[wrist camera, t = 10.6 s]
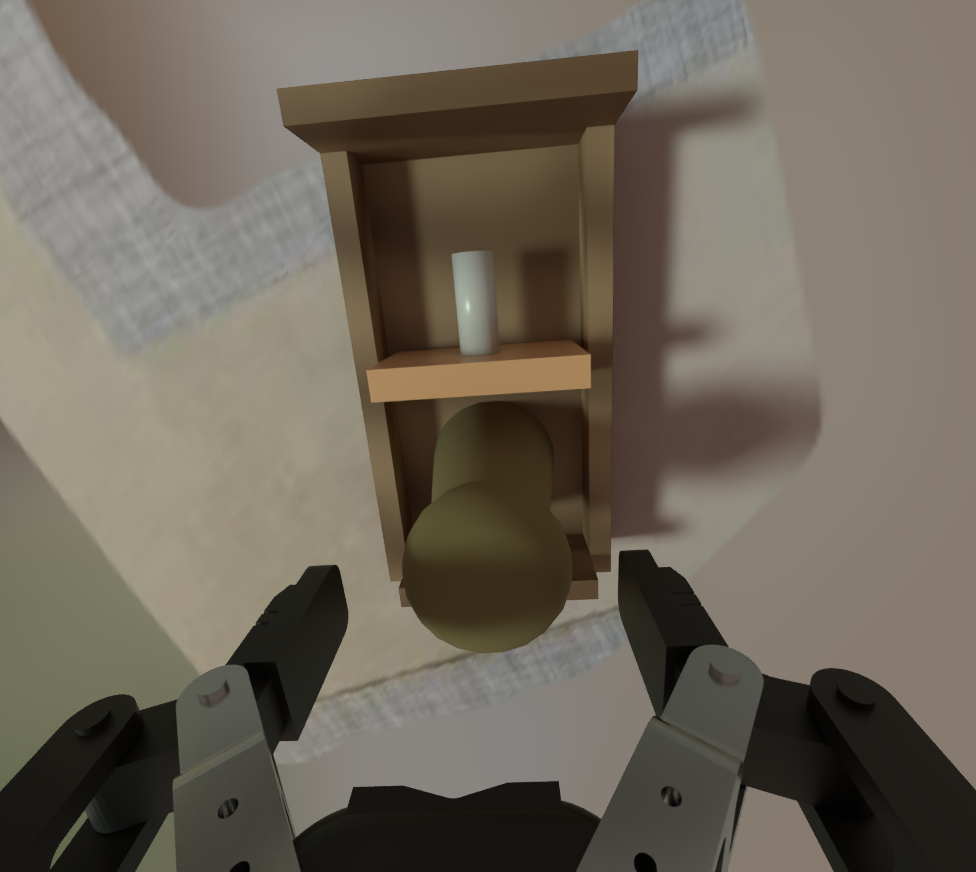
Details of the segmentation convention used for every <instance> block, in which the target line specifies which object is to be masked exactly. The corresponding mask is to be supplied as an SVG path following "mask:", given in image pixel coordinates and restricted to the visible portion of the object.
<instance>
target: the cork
mask: <svg viewBox="0 0 976 872" xmlns="http://www.w3.org/2000/svg"><path fill="white" fill-rule="evenodd" d="M553 466H554V461H553V445H552V443H551V440H550V438H549V435H548V433H547V430H546V429H545V427H544V426H543V425H542V424H541V423H540V422H539V420H538V419H537V418H536V417H535V416H534V415H533V414H531V413H530V412H528V411H526V410H525V409H523V408H521V407H520V406H518V405H515V404H510V403H506V402H502V401H488V402H478V403H476V404H473V405H471V406H468V407H466V408H464V409H461V410H460V411H459V412H458V413H456V414H455V415H454V416H453V417H452V418H451V419H449V420H448V421H447V422H446V424H445V426H444V427H443V429H442V431H441V432H440V434H439V436H438V438H437V443H436V447H435V452H434V465H433V483H432V502H431V504H430V505H429V506H427V507H426V508H425V509H424V510H423V511H422V513H421V514H420V516H419V517H418V519H417V521H416V522H415V524H414V525H413V527H412V529H411V530H410V533H409V535H408V537H407V540H406V544H405V549H404V554H403V559H402V576H403V582H404V588H405V594H406V597H407V599H408V601H409V603H410V604H411V606H412V608H413V610H414V612H415V613H416V615H417V617H418V618H419V620H420V621H421V623H422V624H423V625H424V626H425V627H427V628H428V629H429V630H430V631H431V632H432V633H433V634H434V635H435V636H436V637H437V638H439V639H441V640H443V641H445V642H447V643H449V644H450V645H452V646H454V647H456V648H459V649H464V650H468V651H473V652H478V653H494V652H505V651H509V650H512V649H515V648H518V647H521V646H524V645H526V644H528V643H529V642H531V641H532V640H534V639H535V638H537V637H538V636H540V635H541V634H543V633H544V632H545V631H546V630H547V629H548V627H549V626H550V625H551V624H552V622H553V621H554V620H555V619H556V617H557V616H558V615H559V614H560V612H561V611H562V610H563V608H564V605H565V602H566V599H567V596H568V593H569V591H570V588H571V582H572V554H571V550H570V546H569V543H568V541H567V538H566V536H565V533H564V531H563V529H562V526H561V524H560V521H559V520H558V519H557V518H556V517H555V516H554V515H553V514H552V513H551V511H550V508H551V494H552V480H553Z"/></svg>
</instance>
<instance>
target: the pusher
mask: <svg viewBox="0 0 976 872" xmlns="http://www.w3.org/2000/svg"><path fill="white" fill-rule="evenodd" d="M452 265H453V276H454V287H455V297H456V308H457V319H458V330H459V341H460V348H447V349H434V350H420V351H406V352H397V353H395V354H393V355H392V356H390V357H388V358H386V359H385V360H383V361H381V362H380V363H378V364H376V365H374V366H373V367H371V368H369V369H367V370H366V372H367V379H368V385H369V391H370V398H371V403H374V402H389V401H404V400H419V399H434V398H449V397H464V396H480V395H495V394H510V393H525V392H540V391H555V390H570V389H585V388H591V354H589V353H588V352H587V351H585V350H584V349H583V348H581V347H580V346H579V345H577V344H576V343H575V342H573V341H572V340H558V341H544V342H531V343H517V344H503V345H500V344H499V329H498V314H497V299H496V284H495V269H494V254H493V251H469V252H460V253H454V254H452Z"/></svg>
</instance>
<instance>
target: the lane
mask: <svg viewBox="0 0 976 872" xmlns="http://www.w3.org/2000/svg"><path fill="white" fill-rule="evenodd" d="M637 84H638V50H636V51H626V52H617V53H608V54H598V55H589V56H579V57H570V58H561V59H551V60H542V61H533V62H523V63H514V64H504V65H495V66H486V67H476V68H467V69H457V70H448V71H439V72H429V73H420V74H410V75H401V76H392V77H382V78H373V79H364V80H354V81H345V82H335V83H326V84H317V85H308V86H299V87H288V88H280V89H277V93H278V98H279V104H280V109H281V115H282V120H283V126H284V127H285V128H287V129H288V130H289V131H291V132H292V133H293V134H295V135H296V136H298V137H299V138H300V139H302V140H303V141H304V142H306V143H307V144H308V145H310V146H311V147H312V148H314V149H315V150H316V151H318V152H319V153H320V155H321V161H322V167H323V173H324V179H325V185H326V191H327V197H328V203H329V209H330V215H331V222H332V228H333V234H334V240H335V246H336V252H337V258H338V264H339V270H340V276H341V282H342V288H343V295H344V301H345V307H346V313H347V319H348V325H349V331H350V337H351V343H352V349H353V355H354V361H355V368H356V374H357V380H358V386H359V392H360V398H361V404H362V410H363V416H364V422H365V428H366V434H367V441H368V447H369V453H370V459H371V465H372V471H373V477H374V483H375V489H376V495H377V501H378V507H379V514H380V520H381V526H382V532H383V538H384V544H385V550H386V556H387V562H388V568H389V574H390V580H391V581H401V583H400V586H399V594H400V600H401V606H402V607H411V604H410V603H409V601H408V599H407V597H406V594H405V588H404V582H403V576H402V559H403V554H404V549H405V544H406V540H407V537H408V535H409V533H410V530H411V529H412V527H413V525H414V524H415V522H416V521H417V519H418V517H419V516H420V514H421V513H422V511H423V510H424V509H425V508H426V507H427V506H429V505H430V504H431V502H432V483H433V465H434V452H435V447H436V443H437V438H438V436H439V434H440V432H441V431H442V429H443V427H444V426H445V424H446V422H447V421H448V420H449V419H451V418H452V417H453V416H454V415H455V414H456V413H458V412H459V411H460V410H461V409H464V408H466V407H468V406H471V405H473V404H476V403H478V402H488V401H502V402H506V403H510V404H515V405H518V406H520V407H521V408H523V409H525V410H526V411H528V412H530V413H531V414H533V415H534V416H535V417H536V418H537V419H538V420H539V422H540V423H541V424H542V425H543V426H544V427H545V429H546V430H547V433H548V435H549V438H550V440H551V443H552V445H553V461H554V466H553V480H552V494H551V508H550V511H551V513H552V514H553V515H554V516H555V517H556V518H557V519H558V520H559V521H560V524H561V526H562V529H563V531H564V533H565V536H566V538H567V541H568V543H569V546H570V550H571V554H572V582H571V588H570V591H569V593H568V596H567V599H566V600H583V599H598V578H597V575H596V572H611V467H612V348H613V229H614V125H615V123H616V122H617V120H618V119H619V117H620V116H621V114H622V113H623V111H624V110H625V108H626V107H627V105H628V104H629V102H630V101H631V99H632V98H633V96H634V95H635V93H636V92H637ZM469 251H493V254H494V269H495V284H496V299H497V314H498V329H499V344H500V345H503V344H517V343H531V342H544V341H558V340H572V341H573V342H575V343H576V344H577V345H579V346H580V347H581V348H583V349H584V350H585V351H587V352H588V353H589V354H591V388H585V389H570V390H555V391H540V392H525V393H510V394H495V395H480V396H464V397H449V398H434V399H419V400H404V401H389V402H374V403H371V398H370V391H369V385H368V379H367V372H366V370H367V369H369V368H371V367H373V366H374V365H376V364H378V363H380V362H381V361H383V360H385V359H386V358H388V357H390V356H392V355H393V354H395V353H397V352H406V351H420V350H434V349H447V348H460V341H459V330H458V319H457V308H456V297H455V287H454V276H453V265H452V254H454V253H460V252H469Z"/></svg>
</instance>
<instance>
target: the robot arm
mask: <svg viewBox="0 0 976 872" xmlns="http://www.w3.org/2000/svg"><path fill="white" fill-rule="evenodd" d="M618 604H619V611H620V616H621V620H622V623H623V626H624V628H625V631H626V634H627V637H628V639H629V642H630V645H631V648H632V650H633V653H634V656H635V659H636V661H637V664H638V667H639V670H640V672H641V675H642V678H643V681H644V683H645V686H646V689H647V692H648V694H649V697H650V700H651V703H652V705H653V708H654V711H655V714H656V716H653V717H652V718H651V719H650V721H649V722H648V724H647V727H646V728H645V730H644V733H643V734H642V737H641V739H640V741H639V743H638V745H637V747H636V749H635V751H634V753H633V755H632V757H631V759H630V762H629V763H628V765H627V767H626V770H625V772H624V774H623V776H622V778H621V780H620V782H619V784H618V786H617V788H616V790H615V792H614V794H613V796H612V798H611V800H610V803H609V805H608V807H607V809H606V811H605V813H604V815H603V817H602V819H600V818H599V817H598V816H596V815H594V814H592V813H591V812H589V811H587V810H585V809H584V808H581V807H579V806H577V805H574V804H572V803H568V802H565V801H561V797H560V788H559V782H558V781H549V782H514V783H505V784H502V785H498V786H495V787H492V788H489V789H486V790H482V791H479V792H476V793H473V794H469V795H466V796H463V797H460V798H453V799H452V798H446V797H443V796H439V795H435V794H432V793H428V792H424V791H421V790H417V789H413V788H410V787H406V786H375V787H353V790H352V793H351V797H350V800H349V804H348V807H347V808H344V809H341V810H339V811H336V812H334V813H332V814H330V815H328V816H326V817H324V818H323V819H321V820H319V821H317V822H316V823H314V824H313V825H311V826H310V827H309V828H307V829H306V830H304V831H303V832H302V833H301V834H300V835H299V836H296V833H295V829H294V826H293V822H292V819H291V816H290V812H289V808H288V805H287V801H286V798H285V794H284V790H283V787H282V783H281V779H280V776H279V772H278V769H277V765H276V762H275V758H274V755H273V753H274V751H275V749H276V747H277V745H278V743H279V741H298V739H299V737H300V735H301V732H302V730H303V728H304V726H305V723H306V721H307V719H308V717H309V714H310V712H311V710H312V707H313V705H314V703H315V701H316V698H317V696H318V694H319V692H320V689H321V687H322V685H323V683H324V680H325V678H326V676H327V673H328V671H329V669H330V667H331V664H332V662H333V660H334V658H335V655H336V653H337V651H338V648H339V646H340V644H341V642H342V639H343V637H344V635H345V632H346V629H347V625H348V608H347V603H346V598H345V593H344V588H343V584H342V579H341V574H340V570H339V568H338V566H337V565H322V566H309V567H308V568H307V569H306V571H305V572H304V573H303V575H302V576H301V578H300V579H299V581H298V582H297V584H296V585H289V586H288V587H287V588H285V589H284V590H283V591H282V592H280V593H279V594H278V595H276V596H275V597H274V598H273V600H272V601H271V602H270V604H269V605H268V606H267V608H266V609H265V611H264V614H262V615H261V616H260V618H259V619H258V620H257V622H256V625H255V626H253V627H252V629H251V630H250V632H249V633H248V634H247V636H246V637H245V639H244V640H243V641H242V643H241V644H240V646H239V647H238V648H237V650H236V651H235V652H234V654H233V655H232V657H231V658H230V659H229V661H228V662H227V664H226V665H225V666H220V667H217V668H214V669H212V670H210V671H208V672H206V673H204V674H202V675H201V676H199V677H197V678H196V679H195V680H193V681H192V682H191V683H190V684H189V685H188V686H187V687H186V688H185V689H184V690H183V691H182V693H181V694H180V696H179V698H178V699H177V700H174V701H171V702H167V703H164V704H160V705H157V706H154V707H150V708H147V709H143V710H139V708H138V706H137V703H136V701H135V699H134V698H133V697H132V696H129V695H125V694H121V695H114V696H110V697H106V698H104V699H101V700H98V701H96V702H94V703H92V704H90V705H88V706H86V707H85V708H83V709H82V710H80V711H79V712H77V713H76V714H74V715H73V716H72V717H71V718H69V719H68V720H67V721H66V722H65V723H64V724H63V725H62V726H61V727H60V728H59V729H58V730H57V731H56V732H55V733H54V734H53V735H52V737H51V738H50V739H49V740H48V741H47V742H46V743H45V744H44V745H43V746H42V747H41V748H40V749H39V750H38V752H37V753H36V754H35V755H34V756H33V757H32V758H31V759H30V760H29V761H28V762H27V763H26V764H25V766H24V767H23V768H22V769H21V770H20V771H19V772H18V773H17V774H16V775H15V776H14V777H13V779H12V780H11V781H10V782H9V783H8V784H7V785H6V786H5V787H4V788H3V789H2V790H1V792H0V872H135V871H136V869H137V867H138V866H139V864H140V862H141V860H142V859H143V857H144V855H145V854H146V852H147V850H148V848H149V847H150V845H151V843H152V841H153V839H154V838H155V836H156V834H157V833H158V831H159V829H160V827H161V826H162V824H163V822H164V820H165V818H166V817H167V815H168V813H171V812H174V828H175V848H176V869H177V872H728V867H729V863H730V859H731V854H732V850H733V846H734V842H735V837H736V834H737V829H738V825H739V821H740V817H741V813H742V809H743V804H744V800H745V796H746V792H747V788H748V787H752V788H755V789H759V790H762V791H765V792H769V793H772V794H776V795H780V796H782V797H786V798H790V799H793V800H796V801H798V803H799V805H800V807H801V809H802V811H803V813H804V815H805V817H806V818H807V821H808V823H809V824H810V827H811V828H812V830H813V832H814V834H815V836H816V838H817V840H818V842H819V844H820V846H821V848H822V850H823V852H824V853H825V855H826V857H827V859H828V861H829V863H830V865H831V867H832V869H833V871H834V872H976V790H975V789H974V788H973V787H972V785H971V784H970V783H969V782H968V781H967V780H966V779H965V778H964V776H963V775H962V774H961V773H960V772H959V771H958V770H957V768H956V767H955V766H954V765H953V764H952V763H951V761H950V760H949V759H948V758H947V757H946V756H945V755H944V754H943V752H942V751H941V750H940V749H939V748H938V747H937V746H936V744H935V743H934V742H933V741H932V740H931V739H930V738H929V736H928V735H927V734H926V733H925V732H924V731H923V730H922V729H921V727H920V726H919V725H918V724H917V723H916V722H915V721H914V720H913V718H912V717H911V716H910V715H909V714H908V713H907V711H906V710H905V709H904V708H903V707H902V706H901V705H900V703H899V702H898V701H897V700H896V699H895V698H894V697H893V696H892V695H891V694H890V693H889V692H888V691H887V690H886V689H884V688H883V687H882V686H880V685H879V684H877V683H876V682H874V681H872V680H870V679H869V678H866V677H864V676H862V675H860V674H857V673H854V672H851V671H848V670H843V669H836V668H835V669H834V668H828V669H822V670H819V671H817V672H816V673H815V674H814V675H813V676H812V678H811V682H810V685H806V684H801V683H797V682H791V681H787V680H782V679H778V678H774V677H770V676H767V675H765V674H762V673H761V671H760V670H759V668H758V667H757V665H756V664H755V663H754V662H753V661H752V660H750V658H748V657H747V656H745V655H744V654H742V653H740V652H739V651H736V650H734V649H732V648H729V647H728V645H727V644H726V642H725V640H724V639H723V637H722V636H721V634H720V632H719V631H718V629H717V628H716V626H715V625H714V623H713V621H712V620H711V618H710V617H709V615H708V613H707V612H706V610H705V609H704V607H703V606H701V603H700V601H699V599H698V598H697V596H696V595H694V591H693V590H692V588H691V587H690V585H689V583H688V582H687V580H686V579H685V578H684V577H683V576H681V575H680V574H679V573H677V572H676V571H675V570H673V569H672V568H671V567H659V568H658V566H657V564H656V562H655V560H654V559H653V557H652V555H651V553H650V552H649V550H627V551H620V553H619V573H618ZM84 810H85V812H86V814H87V816H88V818H87V819H86V821H85V822H84V824H83V825H82V827H81V828H80V829H79V831H78V832H77V833H76V835H75V836H74V838H73V839H72V840H71V842H70V843H69V844H68V846H67V847H66V849H65V850H64V851H63V853H62V854H61V856H60V857H59V858H58V860H57V861H56V863H55V864H54V865H53V867H52V868H51V870H50V865H51V862H52V859H53V856H54V854H55V852H56V850H57V848H58V846H59V844H60V843H61V841H62V840H63V839H64V837H65V836H66V835H67V833H68V832H69V830H70V829H71V828H72V826H73V825H74V824H75V822H76V821H77V820H78V818H79V817H80V815H81V814H82V813H83V811H84Z"/></svg>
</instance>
